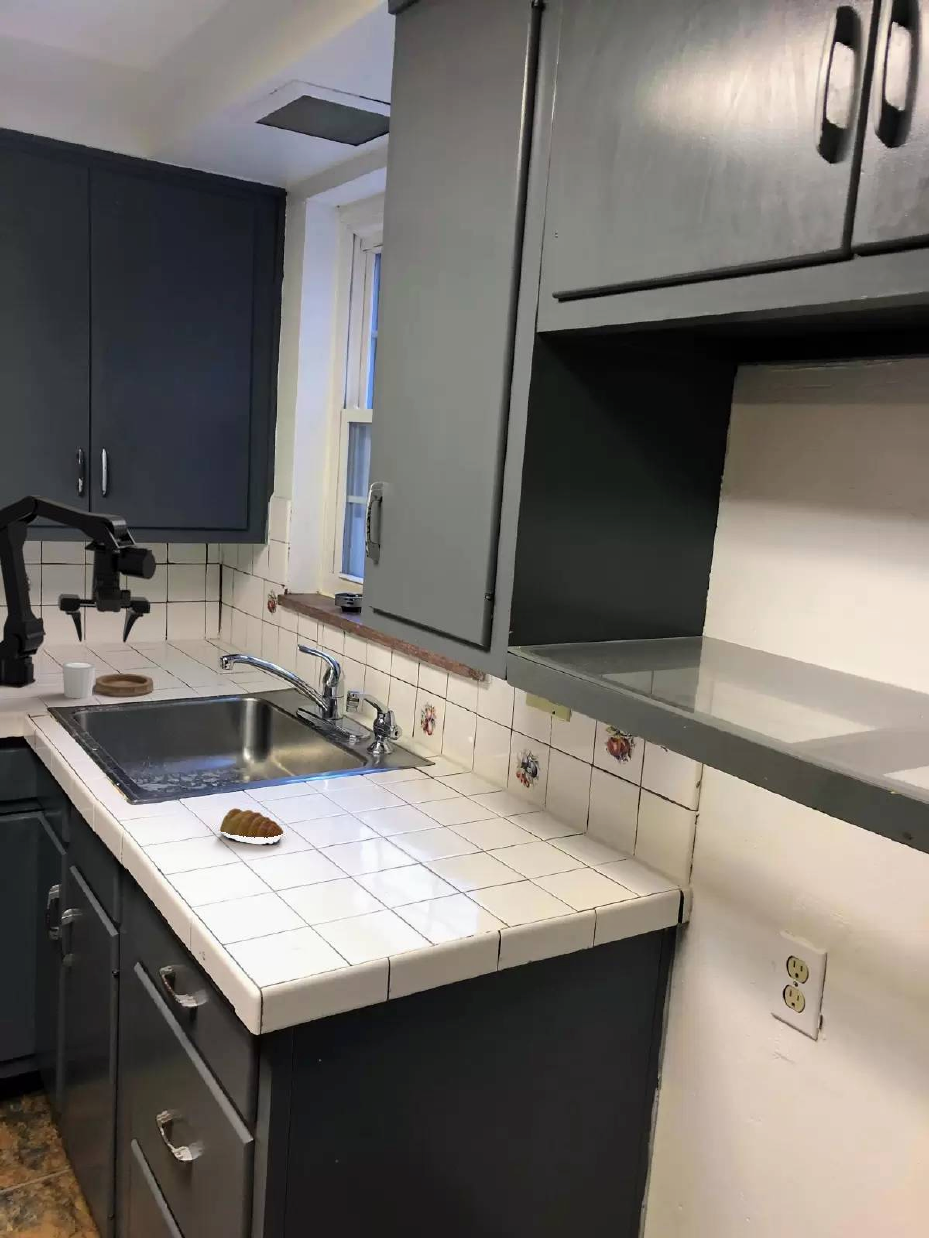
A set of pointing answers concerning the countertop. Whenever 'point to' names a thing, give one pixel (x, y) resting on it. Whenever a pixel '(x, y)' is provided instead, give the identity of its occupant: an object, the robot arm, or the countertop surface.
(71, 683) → the white canister
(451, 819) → the countertop surface
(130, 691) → the round wooden tray
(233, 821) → the pastry
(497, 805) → the countertop surface
